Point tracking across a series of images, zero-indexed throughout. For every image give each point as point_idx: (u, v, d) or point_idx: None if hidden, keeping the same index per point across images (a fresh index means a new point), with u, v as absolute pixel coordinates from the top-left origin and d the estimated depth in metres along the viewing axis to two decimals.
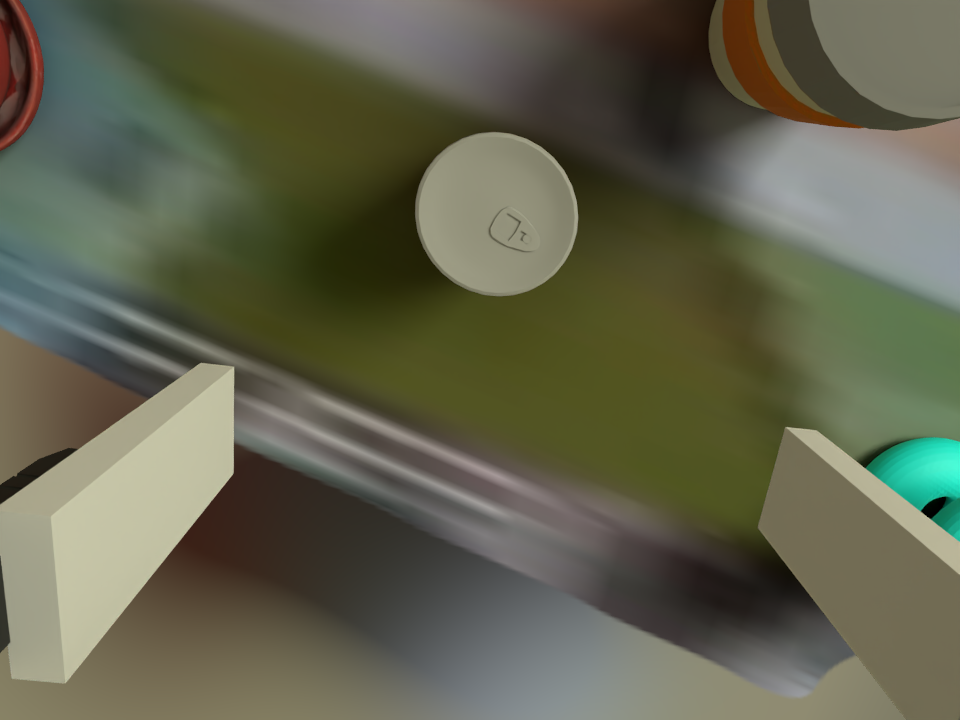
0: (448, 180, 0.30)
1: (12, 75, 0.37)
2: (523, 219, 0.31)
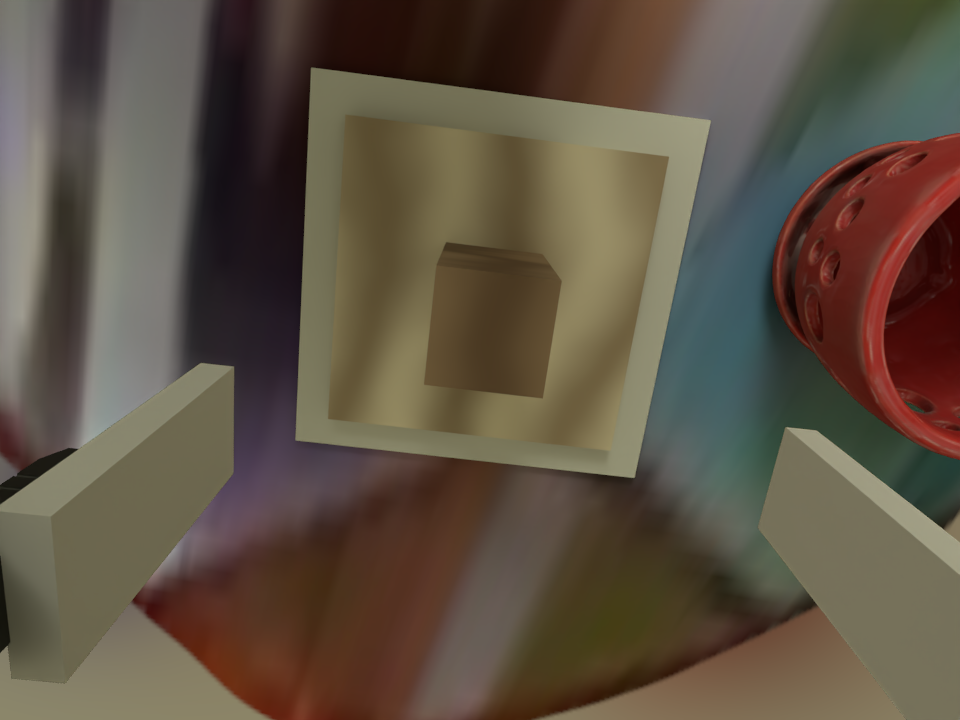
0: None
1: None
2: None
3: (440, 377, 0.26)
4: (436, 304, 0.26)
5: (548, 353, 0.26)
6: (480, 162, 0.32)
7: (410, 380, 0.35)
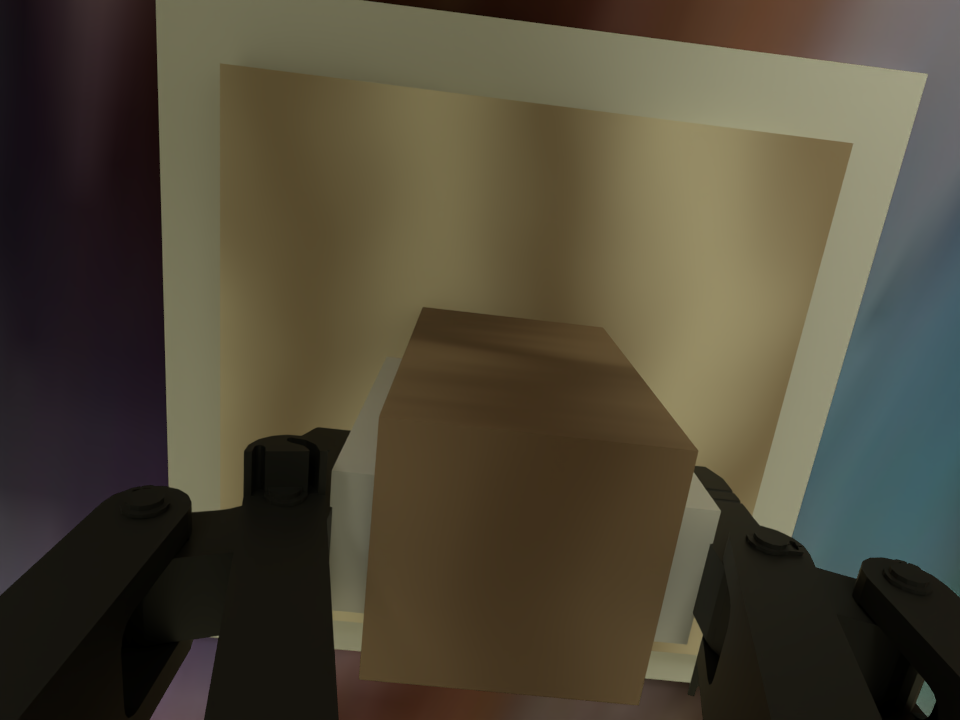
0: None
1: None
2: None
3: (397, 664, 0.11)
4: (383, 506, 0.10)
5: (656, 612, 0.11)
6: (486, 157, 0.16)
7: None
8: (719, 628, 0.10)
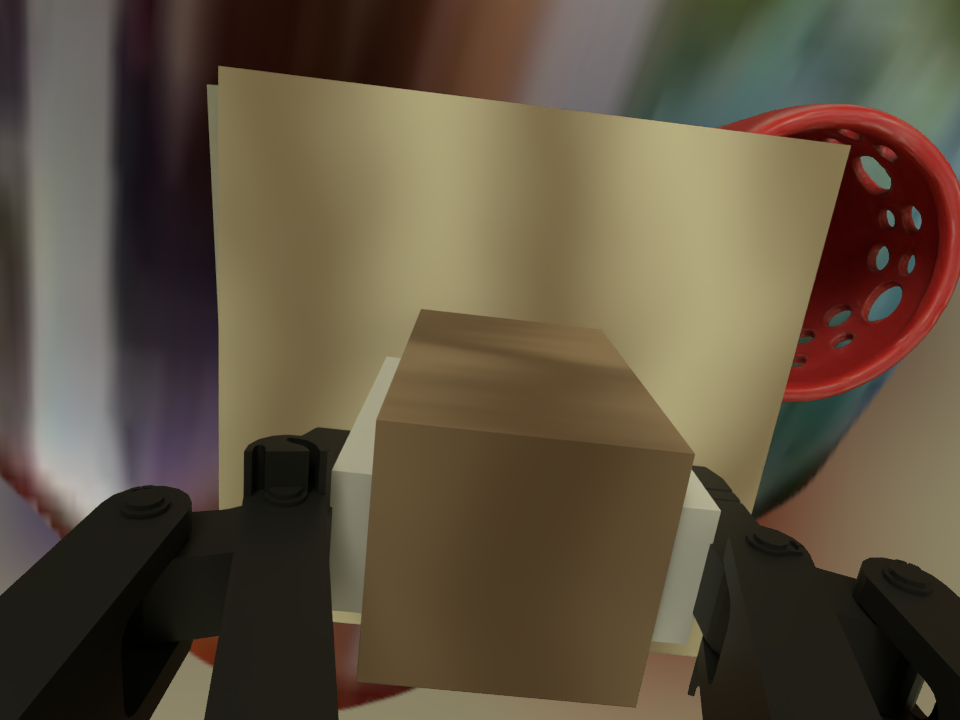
0: None
1: None
2: None
3: (395, 666, 0.11)
4: (381, 509, 0.10)
5: (652, 615, 0.11)
6: (484, 159, 0.16)
7: None
8: (719, 628, 0.10)
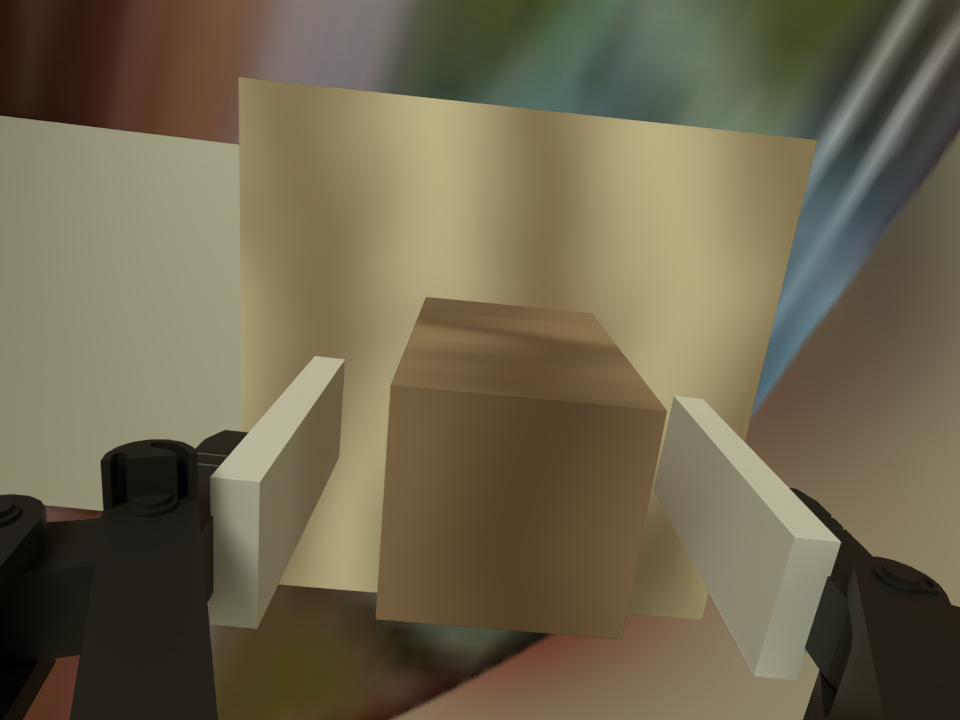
0: None
1: None
2: None
3: (409, 605, 0.13)
4: (395, 463, 0.12)
5: (634, 555, 0.12)
6: (482, 158, 0.18)
7: (374, 520, 0.21)
8: (838, 662, 0.10)
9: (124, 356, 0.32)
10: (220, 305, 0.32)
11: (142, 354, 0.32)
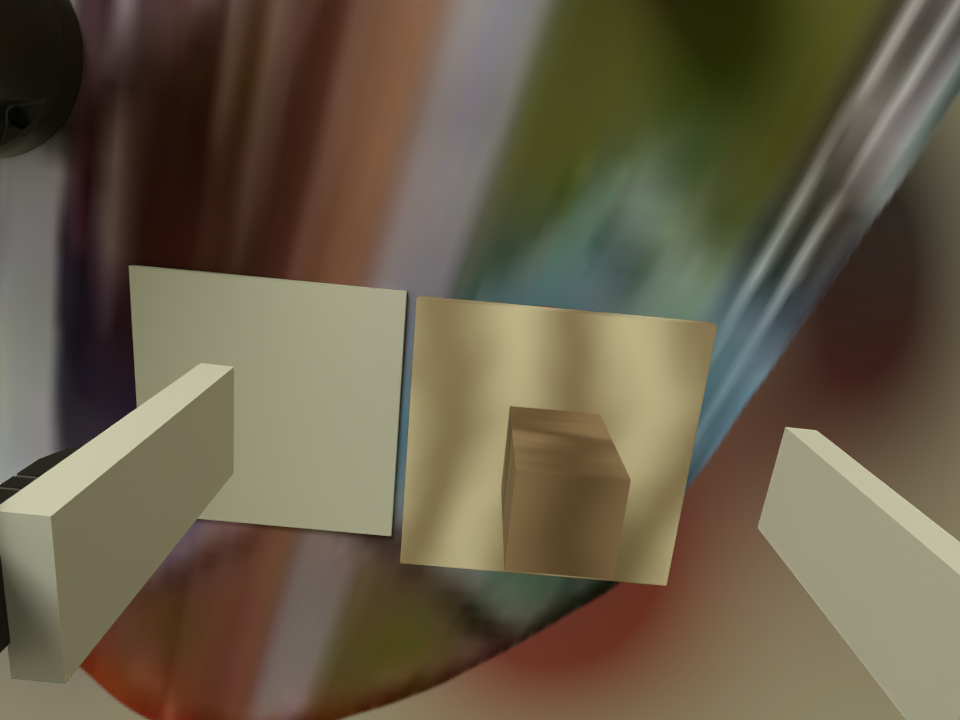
0: None
1: None
2: None
3: (519, 563, 0.29)
4: (516, 502, 0.28)
5: (618, 541, 0.28)
6: (541, 336, 0.34)
7: (477, 527, 0.37)
8: None
9: (290, 422, 0.49)
10: (355, 388, 0.48)
11: (302, 421, 0.49)
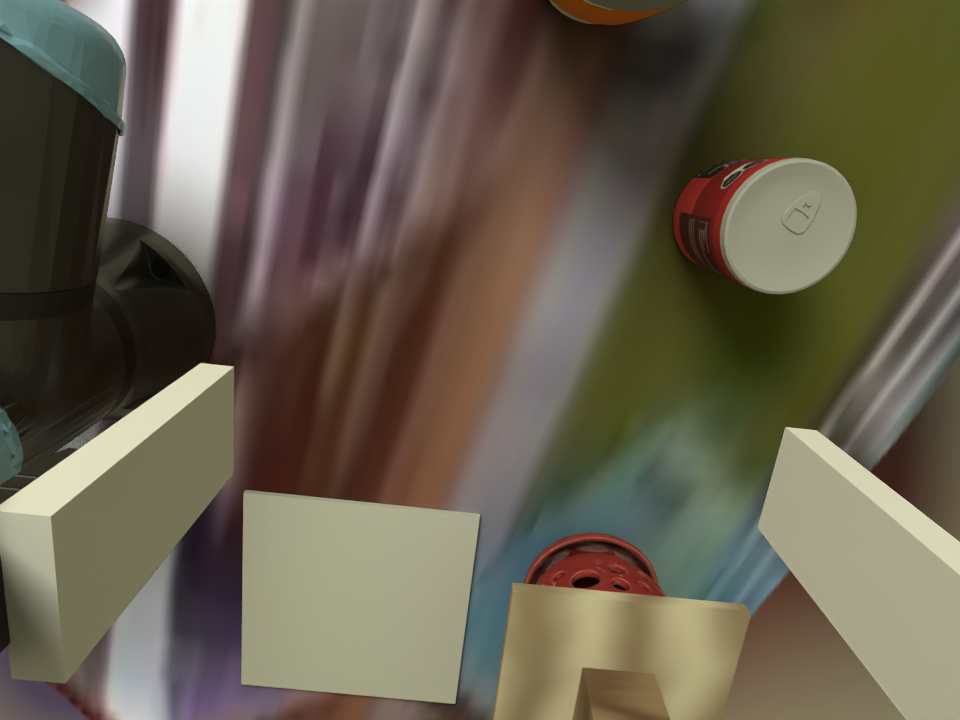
0: (754, 267, 0.38)
1: (603, 553, 0.55)
2: (792, 205, 0.37)
3: None
4: None
5: None
6: (610, 619, 0.43)
7: None
8: None
9: (374, 615, 0.57)
10: (431, 589, 0.56)
11: (385, 614, 0.57)
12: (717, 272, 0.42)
